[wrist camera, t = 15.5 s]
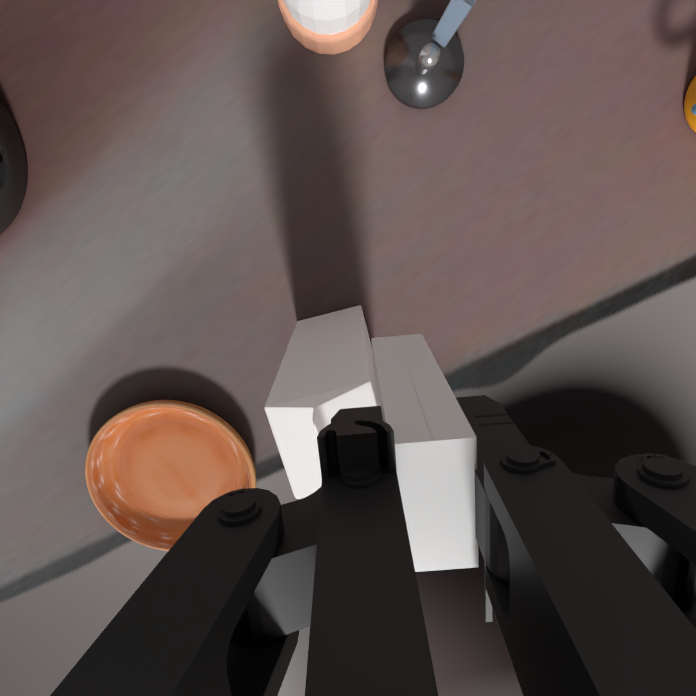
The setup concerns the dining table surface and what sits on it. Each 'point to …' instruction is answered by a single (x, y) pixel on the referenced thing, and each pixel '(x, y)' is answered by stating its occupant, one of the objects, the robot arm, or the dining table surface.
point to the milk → (318, 389)
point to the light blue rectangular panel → (451, 20)
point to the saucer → (164, 468)
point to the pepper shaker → (328, 22)
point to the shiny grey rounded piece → (422, 65)
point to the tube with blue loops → (691, 105)
